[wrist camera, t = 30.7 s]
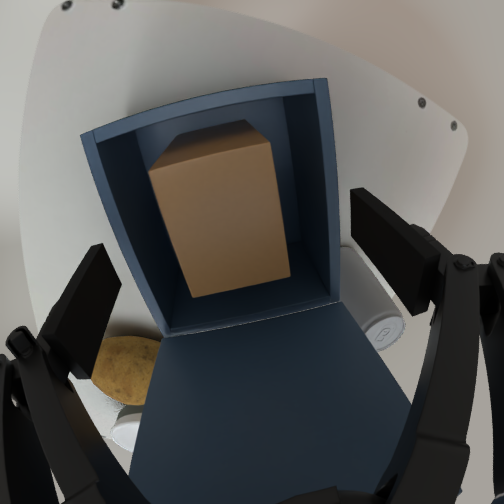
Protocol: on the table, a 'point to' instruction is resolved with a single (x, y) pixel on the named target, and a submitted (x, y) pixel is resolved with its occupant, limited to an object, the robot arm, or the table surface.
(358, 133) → the table surface
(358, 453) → the lid
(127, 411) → the bowl
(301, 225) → the chest
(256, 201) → the package
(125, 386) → the potato
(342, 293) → the beverage can
